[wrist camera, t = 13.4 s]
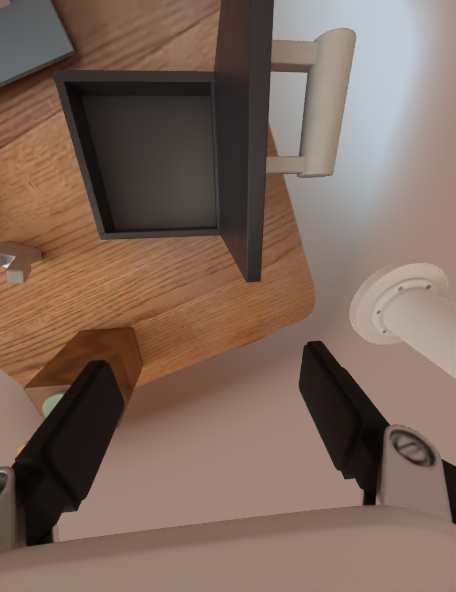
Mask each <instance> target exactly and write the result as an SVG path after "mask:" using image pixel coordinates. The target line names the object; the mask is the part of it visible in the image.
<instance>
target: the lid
mask: <svg viewBox="0 0 456 592" xmlns="http://www.w3.org/2000/svg"><path fill="white" fill-rule="evenodd" d="M273 8H274V0H221V9H220V18H219V28H218V37H217V47H216V56H215V66H214V77H215V103H216V128H217V154H218V179H219V205H220V230H221V237H222V239H223V240H224V242H225V244H226V246H227V248H228V250H229V251H230V253H231V255H232V257H233V259H234V260H235V262H236V264H237V266H238V268H239V270H240V271H241V273H242V275H243V277H244V279H245V280H246V282H260V281H261V264H262V243H263V222H264V200H265V179H266V174H297V177H301V178H305V177H306V178H310V177H324V176H330V175H332V174H333V172H334V166H335V159H336V154H337V148H338V142H339V136H340V130H341V124H342V118H343V113H344V107H345V100H346V95H347V89H348V83H349V76H350V71H351V65H352V59H353V53H354V48H355V42H356V34H355V32H354V31H353V30H351V29H347V28H339V29H334V30H331V31H329V32H326V33H324V34H323V35H321V36H319V37H318V38H317V39H316V40H315V41H314V42H306V41H287V40H272V29H273ZM271 71H275V72H304V73H308V75H307V84H306V95H305V103H304V113H303V123H302V132H301V142H300V153H299V156H292V157H267V136H268V115H269V113H268V112H269V93H270V72H271Z"/></svg>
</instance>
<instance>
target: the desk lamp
mask: <svg viewBox="0 0 456 592" xmlns="http://www.w3.org/2000/svg"><path fill="white" fill-rule="evenodd" d="M75 54H76V52H75V50H74V48H73V45H72V43H71V41H70V39H69V37H68V35H67V33H66V30H65V28H64V26H63V24H62V22H61V20H60V18H59V15H58V13H57V11H56V9H55V7H54V5H53V3H52V0H0V87H2V86H4V85H7V84H9V83H11V82H13V81H16V80H18V79H20V78H22V77H25V76H27V75H29V74H32V73H34V72H36V71H38V70H41V69H43V68H45V67H47V66H50V65H52V64H54V63H57V62H59V61H61V60H63V59H66V58H68V57H70V56H72V55H75Z"/></svg>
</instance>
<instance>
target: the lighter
mask: <svg viewBox="0 0 456 592" xmlns="http://www.w3.org/2000/svg"><path fill="white" fill-rule="evenodd" d="M40 260H42V252H41V249H39V248H35V247H30V246H26V245H22V244H18V243H14V242H10V241H8V242H3V243H0V267H1V266H3V267H8V268H7V269H6V275H7V283H11V284H25V282H26V280H27V278H28V276H29V274H30V272H31V264H32V263H34V262H37V261H40Z"/></svg>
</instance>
